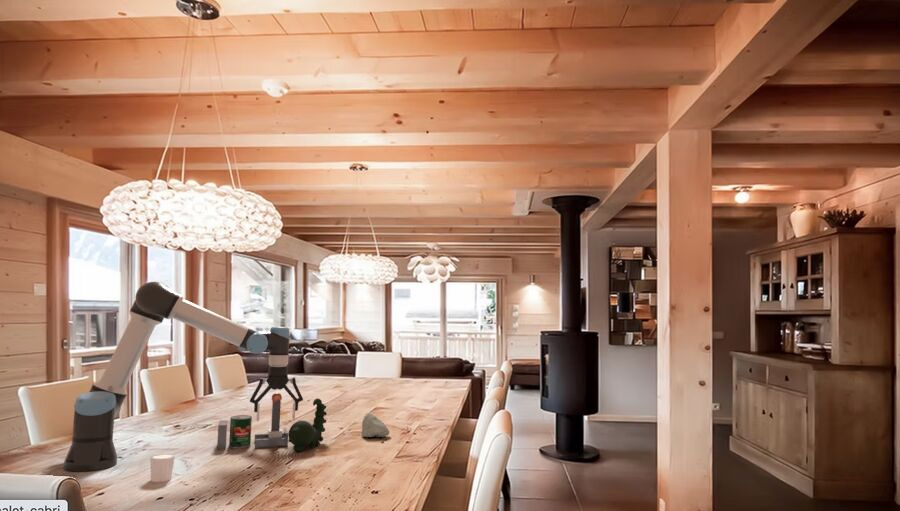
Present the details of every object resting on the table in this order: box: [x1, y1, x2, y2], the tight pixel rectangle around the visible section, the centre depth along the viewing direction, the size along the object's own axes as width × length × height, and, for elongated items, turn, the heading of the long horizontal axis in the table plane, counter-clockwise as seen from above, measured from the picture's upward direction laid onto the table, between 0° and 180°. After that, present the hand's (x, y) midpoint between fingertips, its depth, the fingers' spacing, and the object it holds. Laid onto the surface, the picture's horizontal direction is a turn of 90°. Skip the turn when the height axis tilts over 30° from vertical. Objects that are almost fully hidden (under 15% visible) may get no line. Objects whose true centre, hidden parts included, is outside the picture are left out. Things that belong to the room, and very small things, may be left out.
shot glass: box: [149, 453, 176, 483], centre depth 179 cm, size 7×7×7 cm
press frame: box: [216, 419, 289, 451], centre depth 227 cm, size 11×26×9 cm, turn 109°
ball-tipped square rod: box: [267, 392, 283, 439], centre depth 230 cm, size 7×5×20 cm
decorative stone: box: [361, 413, 390, 438], centre depth 246 cm, size 13×11×10 cm
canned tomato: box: [228, 414, 253, 449], centre depth 225 cm, size 8×8×11 cm
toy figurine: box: [288, 397, 328, 453], centre depth 224 cm, size 9×19×25 cm
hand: (275, 420), depth 230 cm, fingers open, 13 cm apart
